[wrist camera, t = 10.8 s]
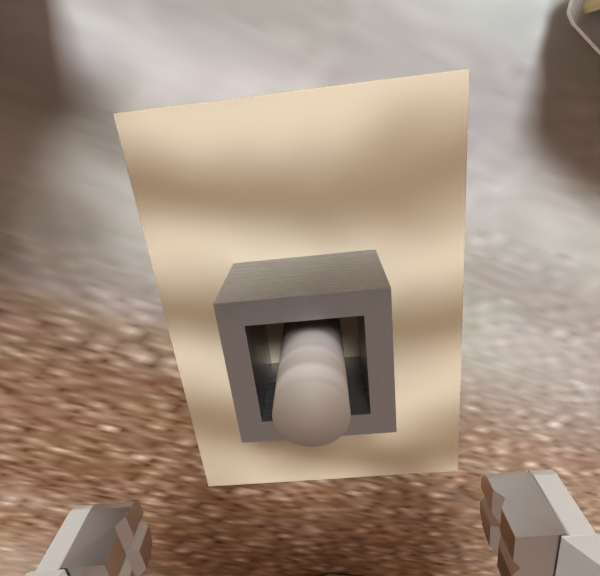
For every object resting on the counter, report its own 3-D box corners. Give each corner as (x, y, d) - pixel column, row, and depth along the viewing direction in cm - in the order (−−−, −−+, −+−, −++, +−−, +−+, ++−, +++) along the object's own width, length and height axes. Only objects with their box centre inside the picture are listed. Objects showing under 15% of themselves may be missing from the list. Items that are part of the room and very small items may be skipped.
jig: (123, 113, 19) (-1, 120, 11) (461, 70, 18) (565, 48, 10) (212, 472, 26) (172, 616, 19) (452, 457, 25) (509, 603, 18)
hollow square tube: (233, 263, 20) (213, 304, 16) (375, 249, 20) (391, 287, 16) (255, 381, 23) (241, 442, 19) (381, 371, 22) (396, 432, 18)
